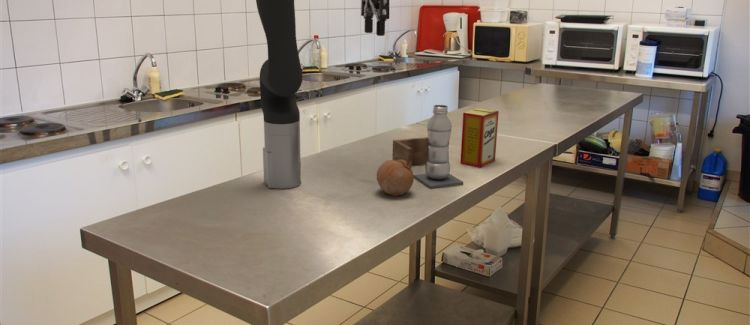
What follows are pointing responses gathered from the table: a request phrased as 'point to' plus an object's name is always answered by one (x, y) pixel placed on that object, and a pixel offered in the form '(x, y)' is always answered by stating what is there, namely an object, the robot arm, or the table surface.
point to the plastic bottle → (438, 143)
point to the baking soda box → (479, 137)
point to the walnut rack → (411, 150)
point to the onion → (395, 177)
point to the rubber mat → (438, 181)
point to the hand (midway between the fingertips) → (374, 34)
